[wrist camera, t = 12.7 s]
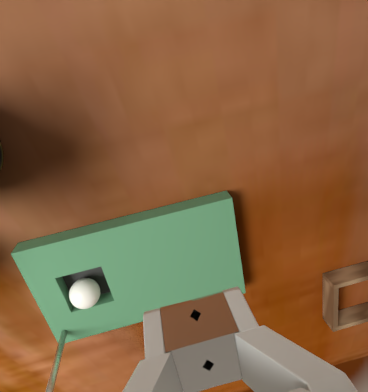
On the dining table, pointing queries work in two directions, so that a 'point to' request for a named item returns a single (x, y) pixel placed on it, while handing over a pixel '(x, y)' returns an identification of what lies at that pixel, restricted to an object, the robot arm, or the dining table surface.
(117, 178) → the dining table surface
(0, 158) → the apothecary jar
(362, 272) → the wooden rectangular frame
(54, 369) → the flag pin
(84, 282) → the ball
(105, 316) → the putting strip
